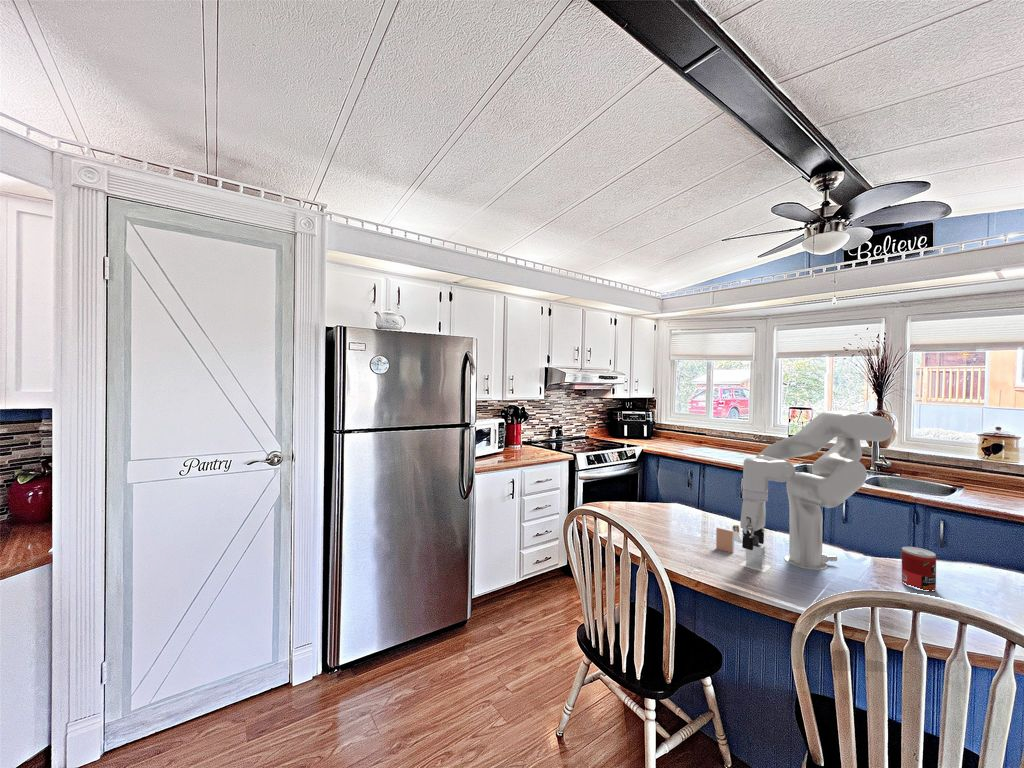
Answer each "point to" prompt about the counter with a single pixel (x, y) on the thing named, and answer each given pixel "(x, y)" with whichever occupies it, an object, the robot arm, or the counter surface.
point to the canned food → (919, 568)
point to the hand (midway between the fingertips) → (753, 545)
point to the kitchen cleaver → (736, 534)
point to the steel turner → (756, 554)
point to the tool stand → (755, 567)
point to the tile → (725, 539)
